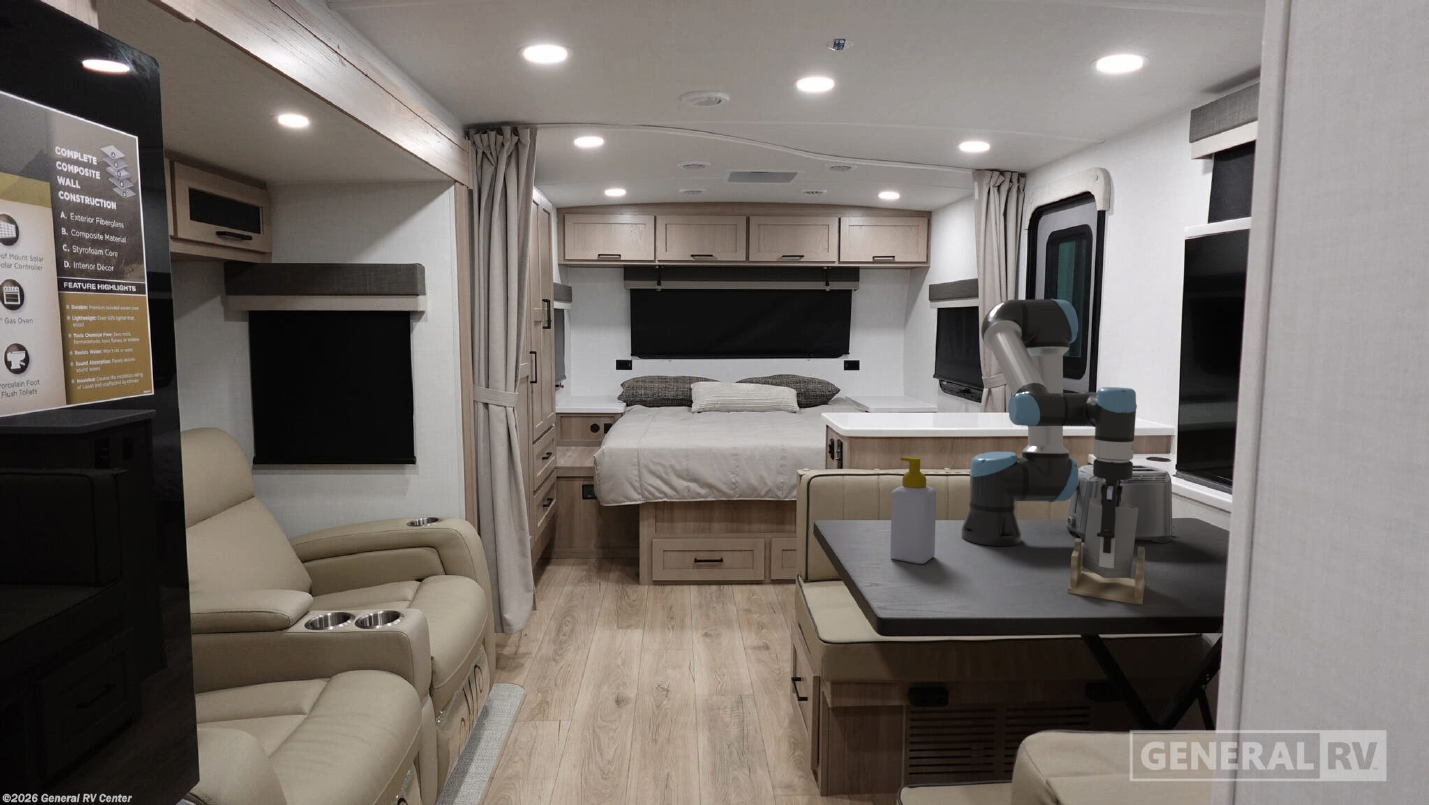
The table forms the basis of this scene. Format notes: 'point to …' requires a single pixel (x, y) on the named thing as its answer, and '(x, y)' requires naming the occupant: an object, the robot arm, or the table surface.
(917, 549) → the soap bottle
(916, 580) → the table surface
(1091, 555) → the skincare box
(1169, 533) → the toaster
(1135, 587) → the holder
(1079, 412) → the robot arm
